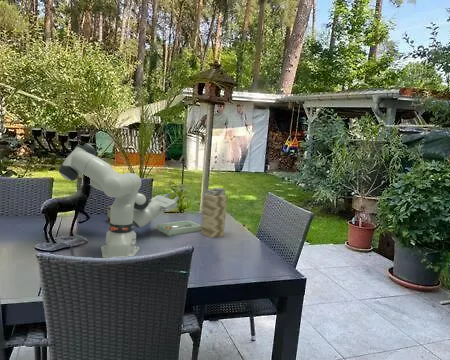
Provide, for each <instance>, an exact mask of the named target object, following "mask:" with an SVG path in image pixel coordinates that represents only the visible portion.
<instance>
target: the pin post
mask: <svg viewBox="0 0 450 360" xmlns="http://www.w3.org/2000/svg"><path fill="white" fill-rule="evenodd" d="M227 200H228V195H226V189H225V188H221V187H214V189H206V193H204V194H203V205H202V216H201V218H202V219H201V226H202V228H201V231H200V234H201V235H204V236H206V237H208V238H210V239H213V238H218V237H224V236H225V225H226V214H227V213H226V212H227Z"/></svg>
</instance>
